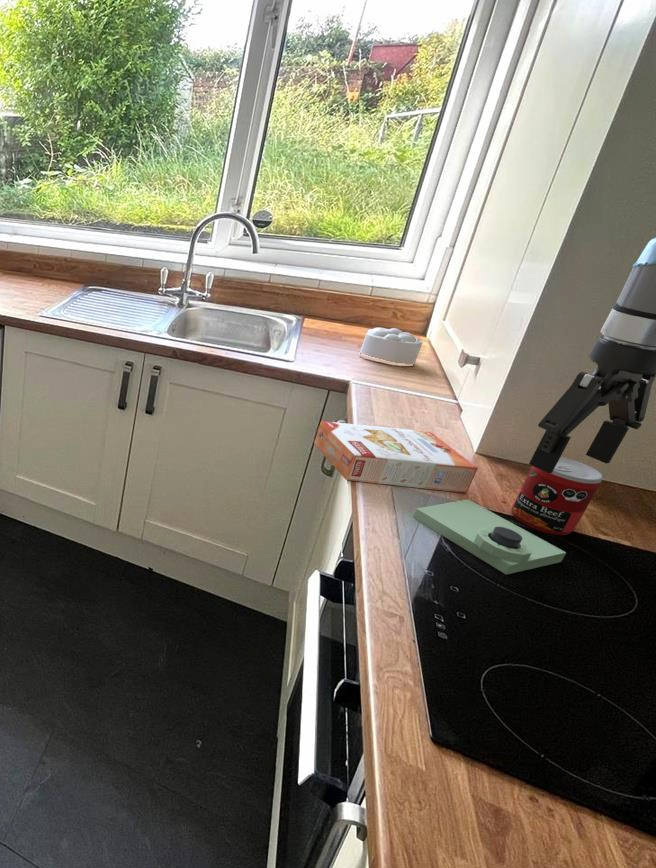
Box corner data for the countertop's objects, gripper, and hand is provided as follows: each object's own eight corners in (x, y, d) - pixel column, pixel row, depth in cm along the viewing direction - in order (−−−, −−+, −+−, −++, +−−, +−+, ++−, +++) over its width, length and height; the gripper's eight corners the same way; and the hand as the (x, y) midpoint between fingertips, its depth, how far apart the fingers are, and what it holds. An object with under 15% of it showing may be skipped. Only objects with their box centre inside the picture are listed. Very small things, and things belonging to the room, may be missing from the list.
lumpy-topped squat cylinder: (362, 349, 177) (371, 322, 174) (415, 360, 169) (425, 332, 166) (357, 358, 170) (366, 330, 167) (412, 370, 162) (423, 341, 159)
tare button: (523, 547, 87) (528, 538, 87) (507, 551, 87) (512, 541, 86) (499, 534, 90) (503, 525, 90) (484, 537, 89) (488, 528, 89)
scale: (561, 562, 89) (571, 544, 88) (503, 575, 86) (513, 557, 85) (463, 508, 102) (471, 491, 100) (410, 517, 99) (417, 500, 97)
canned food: (499, 513, 101) (526, 458, 96) (526, 504, 103) (553, 451, 99) (555, 541, 94) (586, 484, 90) (582, 531, 97) (614, 475, 93)
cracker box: (481, 466, 103) (354, 454, 106) (468, 494, 106) (344, 482, 108) (431, 429, 116) (319, 419, 119) (420, 455, 119) (311, 445, 121)
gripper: (612, 357, 80) (543, 486, 88) (723, 345, 86) (649, 467, 94) (546, 338, 86) (488, 459, 95) (654, 329, 93) (591, 443, 101)
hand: (569, 463), depth 95 cm, fingers open, 13 cm apart
